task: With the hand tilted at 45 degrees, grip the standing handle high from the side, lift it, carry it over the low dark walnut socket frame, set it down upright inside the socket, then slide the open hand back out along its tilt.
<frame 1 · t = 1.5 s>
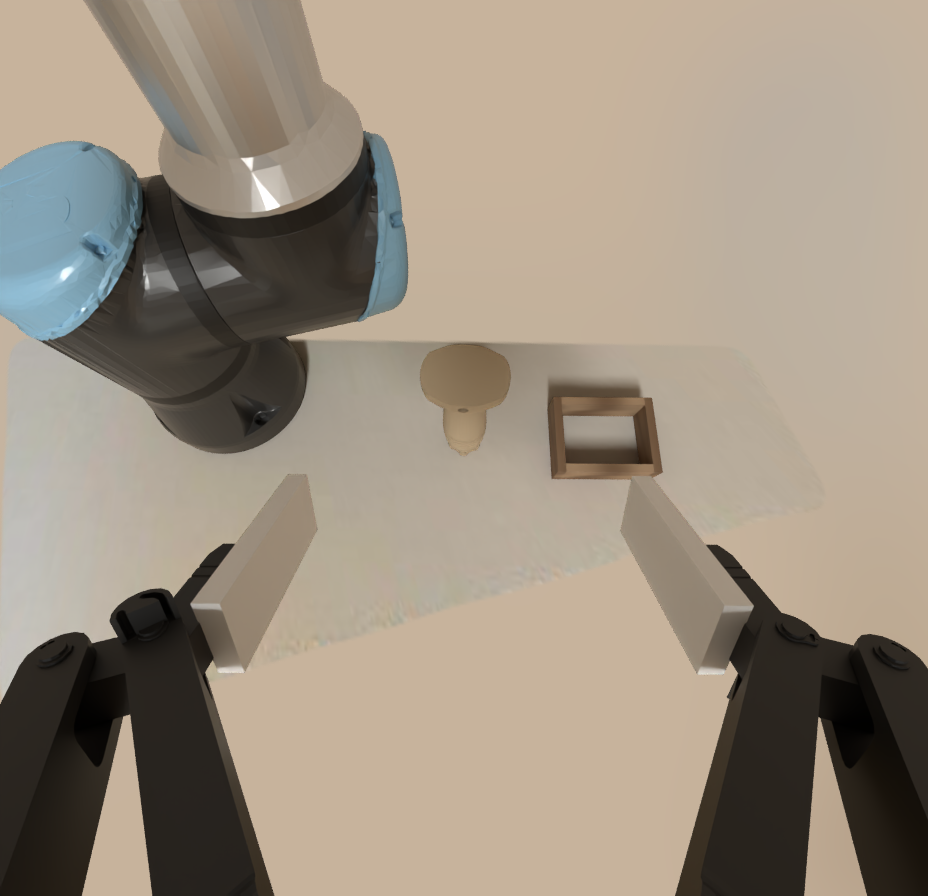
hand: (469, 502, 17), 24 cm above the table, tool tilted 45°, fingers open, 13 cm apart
socket block: (596, 443, 44), on the table
handle: (464, 442, 44), on the table
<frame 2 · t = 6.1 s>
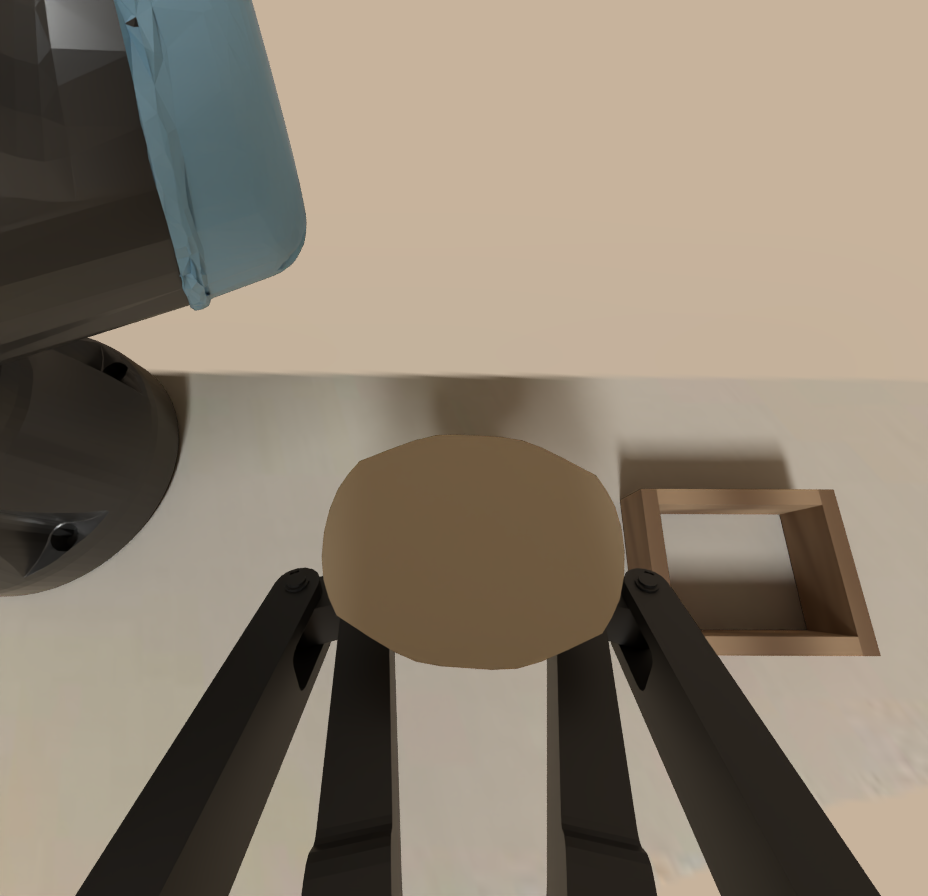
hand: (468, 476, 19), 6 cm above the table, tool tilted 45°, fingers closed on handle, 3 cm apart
socket block: (717, 569, 23), on the table
handle: (467, 568, 23), on the table, touching gripper
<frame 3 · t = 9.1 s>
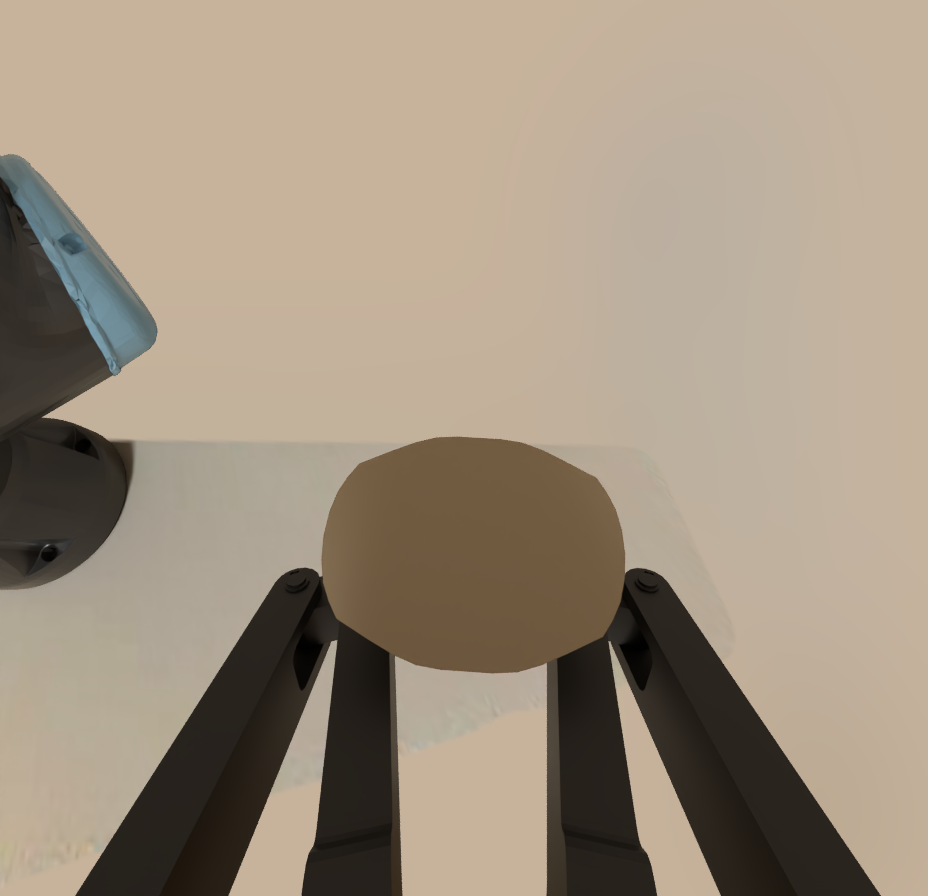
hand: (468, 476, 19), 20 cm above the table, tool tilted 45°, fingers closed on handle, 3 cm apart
handle: (466, 570, 23), point 14 cm above the table, touching gripper
when the fingers open (6 cm above the table, at t = 12.2 s): handle stays where it is, resting in socket block.
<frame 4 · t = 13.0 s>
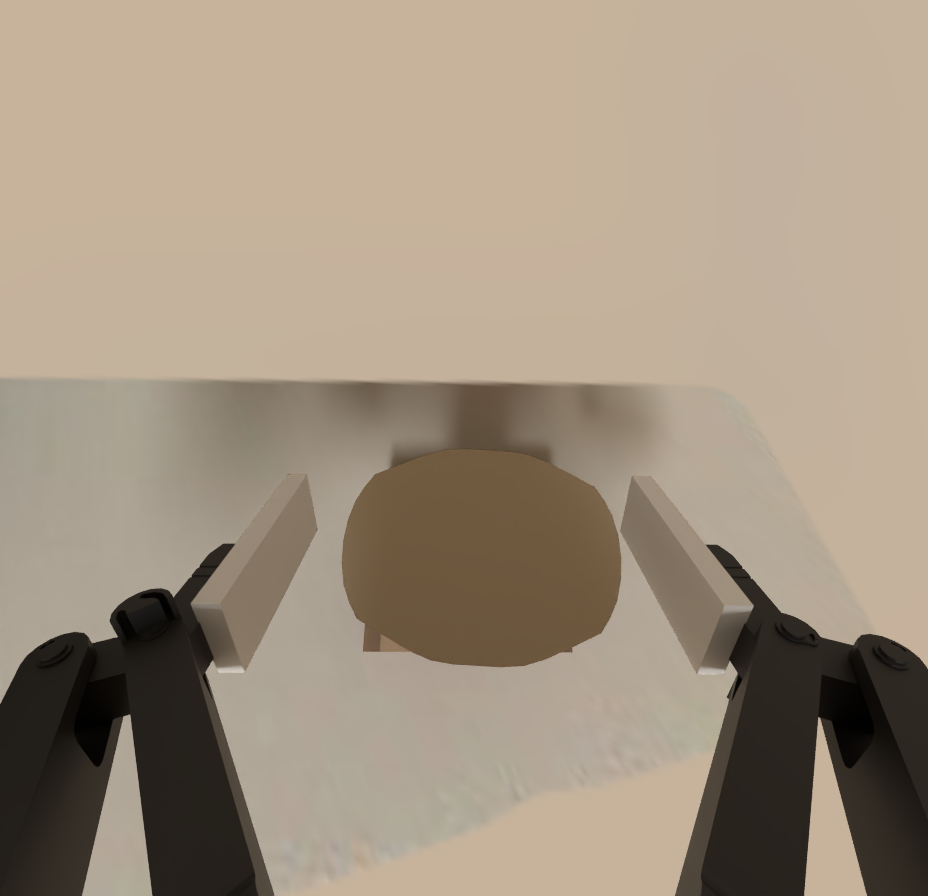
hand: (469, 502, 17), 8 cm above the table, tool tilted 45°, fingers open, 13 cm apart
socket block: (467, 569, 24), on the table
handle: (468, 571, 24), resting in socket block
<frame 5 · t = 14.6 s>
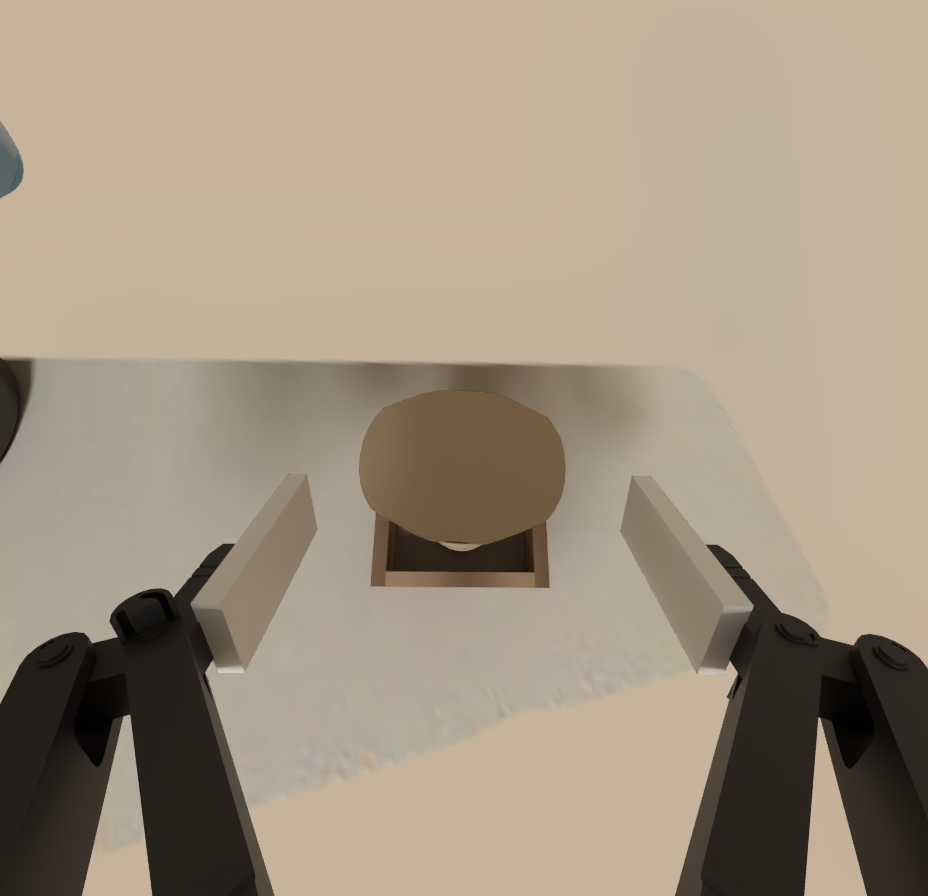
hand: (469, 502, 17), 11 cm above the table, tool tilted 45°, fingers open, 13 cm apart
socket block: (461, 524, 27), on the table
handle: (461, 526, 27), resting in socket block
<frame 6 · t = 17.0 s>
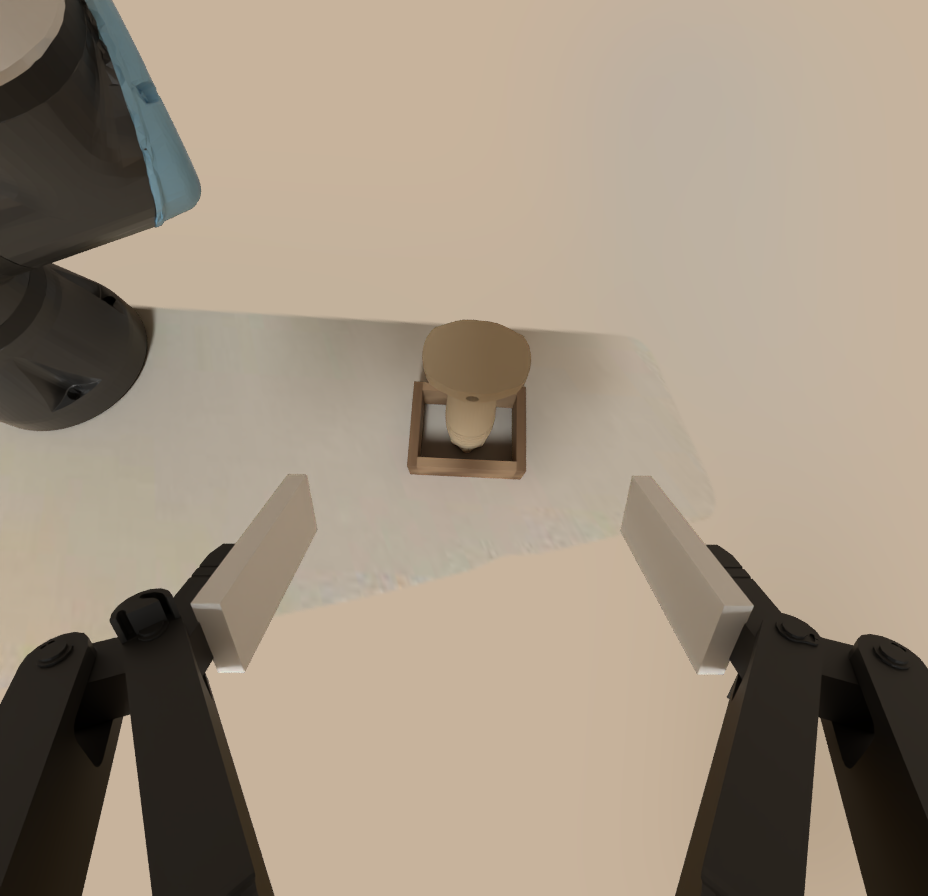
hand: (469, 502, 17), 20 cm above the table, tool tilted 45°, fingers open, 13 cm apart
socket block: (467, 436, 39), on the table
handle: (467, 438, 39), resting in socket block
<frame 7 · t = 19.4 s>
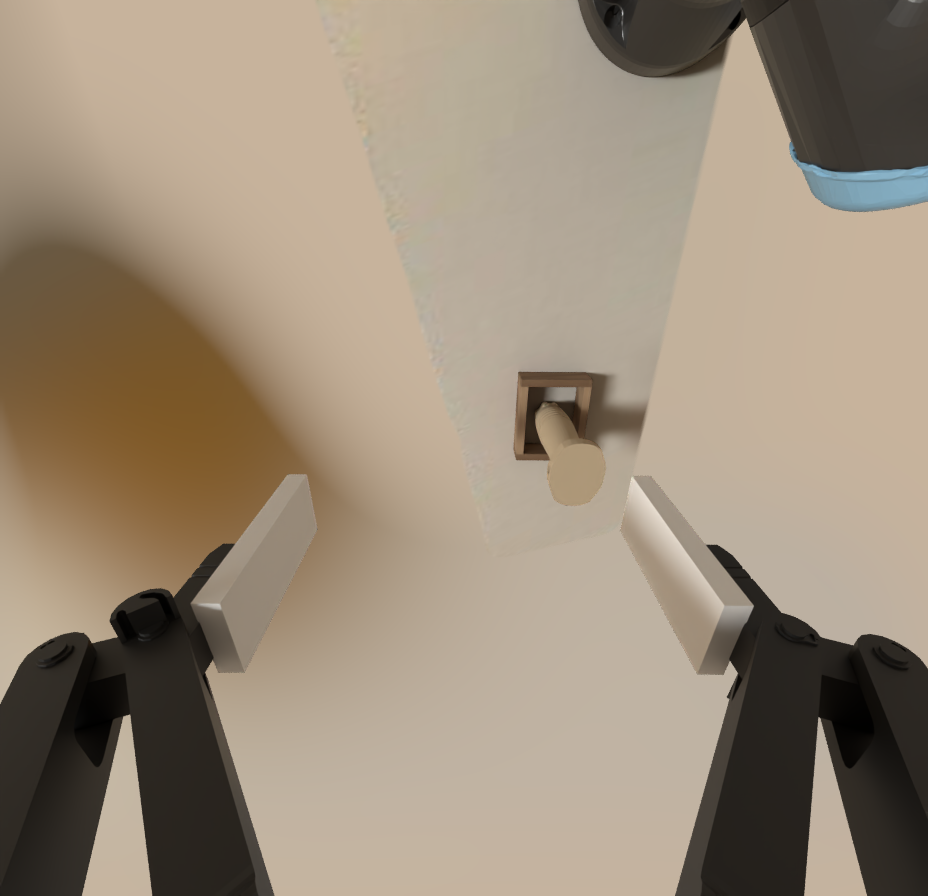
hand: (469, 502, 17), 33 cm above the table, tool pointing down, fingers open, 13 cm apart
socket block: (547, 412, 50), on the table
handle: (546, 412, 50), resting in socket block
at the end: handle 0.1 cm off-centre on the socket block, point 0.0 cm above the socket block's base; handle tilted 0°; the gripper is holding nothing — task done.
